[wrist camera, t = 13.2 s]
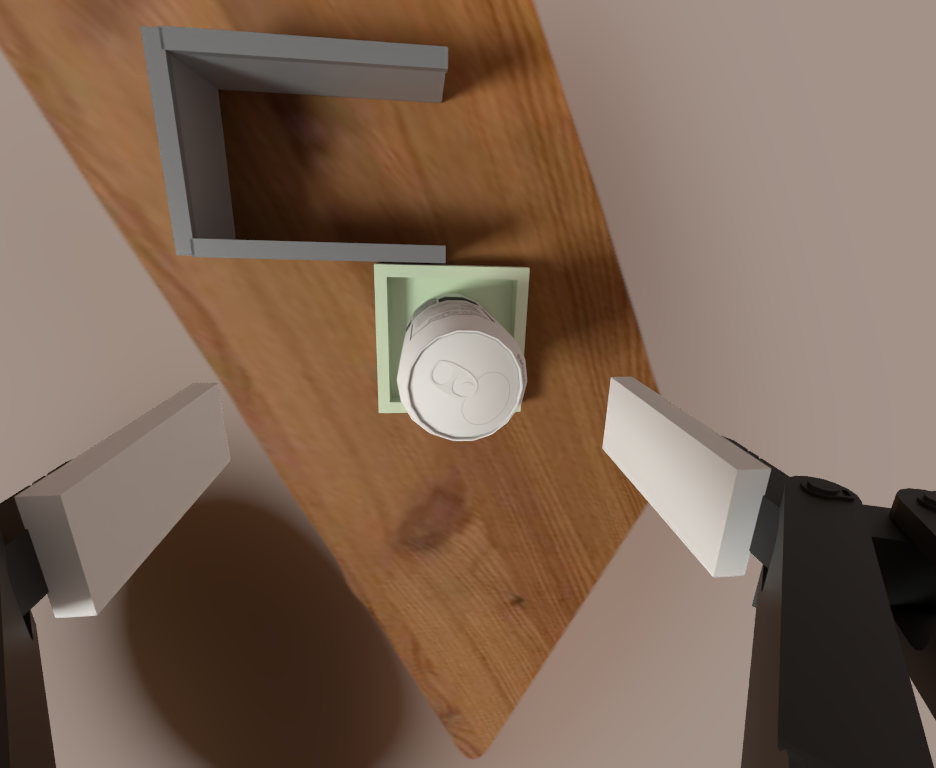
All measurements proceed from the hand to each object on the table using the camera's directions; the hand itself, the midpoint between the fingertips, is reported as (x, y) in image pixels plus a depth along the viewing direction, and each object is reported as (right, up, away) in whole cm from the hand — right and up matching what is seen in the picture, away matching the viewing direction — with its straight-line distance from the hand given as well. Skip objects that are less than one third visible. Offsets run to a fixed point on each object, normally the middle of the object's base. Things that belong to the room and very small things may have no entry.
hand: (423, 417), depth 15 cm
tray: (0, +5, +26) cm, 27 cm away
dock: (-10, +18, +21) cm, 30 cm away
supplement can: (0, +5, +26) cm, 26 cm away
